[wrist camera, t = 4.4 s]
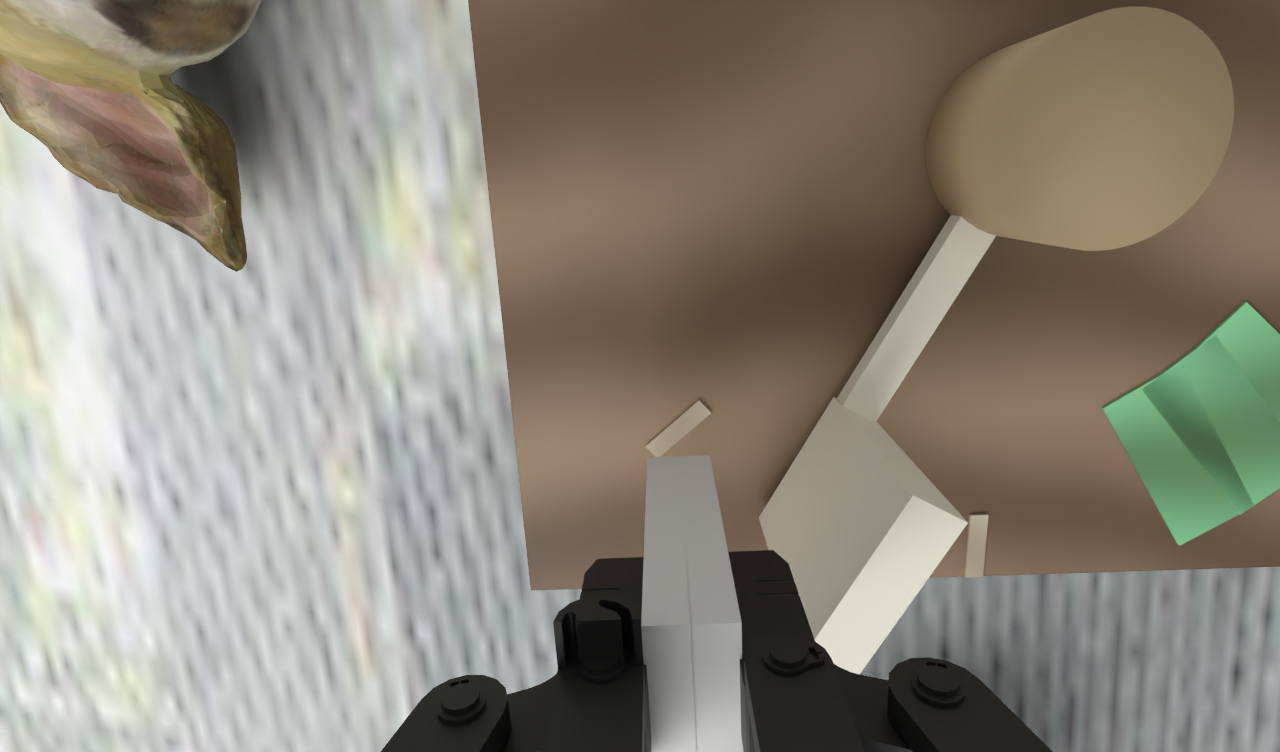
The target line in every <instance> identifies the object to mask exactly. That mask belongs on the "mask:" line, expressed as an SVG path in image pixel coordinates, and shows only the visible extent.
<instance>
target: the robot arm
mask: <svg viewBox="0 0 1280 752" xmlns="http://www.w3.org/2000/svg"><path fill="white" fill-rule="evenodd" d="M553 624H554V633H555V643H556V652H557V662H558V672H557V674H556V675H555V676H554V677H552V678H551V679H549V680H547V681H546V682H544V683H542V684H540V685H537V686H535V687H532V688H529V689H526V690H522V691H519V692H515V693H511V694H508V695H507V693H506V689H505V687H504V686H503V685H502V684H501V683H500V682H499V681H498V680H497V679H494V678H491V677H487V676H484V675H465V676H461V677H458V678H454V679H450V680H448V681H446V682H444V683H442V684H440V685H438V686H437V687H435V688H433V689H432V690H431V691H430V692H429V693H428V694H427V695H426V696H425V697H424V698H423V699H421V701H420V702H419V703H418V705H417V706H416V707H415V708H414V710H413V711H412V712H411V714H410V715H409V716H408V717H407V719H406V720H405V721H404V723H403V724H402V725H401V726H400V728H399V729H398V730H397V732H396V733H395V734H394V735H393V737H392V738H391V739H390V741H389V742H388V743H387V744H386V746H385V747H384V748H383V750H382V751H381V752H1052V751H1051V750H1050V749H1049V748H1048V747H1047V746H1046V745H1045V744H1044V743H1043V742H1042V741H1041V740H1040V739H1039V738H1038V737H1037V736H1036V735H1035V734H1034V733H1033V732H1032V731H1031V730H1030V729H1029V728H1028V727H1027V726H1026V725H1025V724H1024V723H1023V722H1022V721H1021V720H1020V719H1019V718H1018V717H1017V716H1016V715H1015V714H1014V713H1013V712H1012V711H1011V710H1010V709H1009V708H1008V707H1007V706H1006V705H1005V704H1004V703H1003V702H1002V701H1001V700H1000V699H999V698H998V697H997V696H996V695H995V694H994V693H993V692H992V691H991V690H990V689H989V688H988V687H986V686H985V685H984V684H983V683H982V682H981V681H980V680H979V679H978V678H977V677H975V676H974V675H973V674H971V673H970V672H969V671H967V670H966V669H965V668H962V667H960V666H957V665H955V664H953V663H950V662H948V661H944V660H939V659H933V658H912V659H908V660H906V661H903V662H901V663H898V664H897V665H896V666H895V667H894V668H893V669H892V671H891V672H890V673H889V681H888V680H883V679H878V678H873V677H867V676H863V675H859V674H856V673H852V672H849V671H847V670H845V669H843V668H840V667H838V666H837V665H835V664H834V663H833V661H832V658H831V657H830V655H829V654H828V652H827V651H826V649H825V648H824V647H822V646H821V645H819V644H818V643H816V642H815V639H814V637H813V634H812V631H811V628H810V625H809V622H808V619H807V616H806V613H805V610H804V607H803V604H802V601H801V599H800V596H799V594H798V590H797V587H796V584H795V582H794V578H793V575H792V572H791V569H790V566H789V563H787V562H786V561H785V560H784V559H783V558H782V557H781V556H780V555H778V554H777V553H776V552H775V551H774V550H761V551H735V552H728V548H727V543H726V538H725V533H724V527H723V522H722V517H721V512H720V506H719V501H718V496H717V491H716V485H715V480H714V475H713V470H712V464H711V459H710V455H700V456H678V457H655V458H647V478H646V506H645V534H644V557H629V558H603V559H597V560H596V561H595V562H594V563H593V564H592V565H591V567H590V568H589V569H588V570H587V571H586V572H585V574H584V580H583V585H582V592H581V596H580V600H577V601H575V602H572V603H570V604H568V605H567V606H566V607H565V608H563V609H562V610H561V611H559V613H558V614H557V616H556V618H555V620H554V622H553Z"/></svg>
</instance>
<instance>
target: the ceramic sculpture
mask: <svg viewBox="0 0 1280 752" xmlns="http://www.w3.org/2000/svg"><path fill="white" fill-rule="evenodd" d="M261 1H262V0H0V102H1V104H2V106H3V108H4V109H5V111H6V113H7V115H8V116H9V118H10V119H11V120H12V121H13V122H14V123H15V124H17V125H18V126H20V127H21V128H22V129H24V130H26V131H27V132H29V133H30V134H32V135H34V136H35V137H36V138H37V139H38V140H40V141H41V142H42V143H43V144H44V145H46V146H47V147H48V149H49V150H50V152H51V153H52V155H53V156H54V158H55V159H56V160H57V161H58V162H59V163H60V164H61V165H62V166H63V167H64V168H66V169H67V170H69V171H70V172H72V173H73V174H75V175H76V176H78V177H80V178H82V179H84V180H86V181H87V182H89V183H90V184H92V185H93V186H94V187H96V188H98V189H102V190H105V191H109V192H113V193H116V194H118V195H119V197H120V198H121V200H122V201H123V202H125V203H127V204H129V205H131V206H133V207H135V208H136V209H138V210H140V211H142V212H144V213H145V214H147V215H149V216H151V217H153V218H154V219H157V220H159V221H161V222H164V223H166V224H168V225H170V226H171V227H173V228H175V229H177V230H179V231H180V232H182V233H184V234H186V235H188V236H190V237H192V238H193V239H195V240H197V241H198V242H199V243H200V244H201V246H202V247H203V248H204V249H205V250H206V251H207V252H209V253H210V254H211V255H213V256H214V257H215V258H216V259H218V260H219V261H220V262H221V263H223V264H224V265H225V266H226V267H228V268H230V269H232V270H234V271H239V270H241V269H243V267H244V266H245V264H246V260H247V252H246V243H245V236H244V230H243V224H242V218H241V192H240V183H239V175H238V166H237V157H236V148H235V143H234V141H233V139H232V136H231V134H230V132H229V130H228V128H227V126H226V124H225V123H224V122H223V121H222V120H221V119H220V118H219V117H218V116H217V115H216V114H215V113H214V112H213V111H212V110H211V109H210V108H209V107H208V106H206V105H205V104H204V103H202V102H201V101H200V100H198V99H197V98H195V97H194V96H193V95H191V94H189V93H188V92H186V91H185V90H183V89H182V88H180V87H179V86H177V85H175V84H174V83H173V82H172V80H171V79H170V77H169V76H170V75H172V74H173V73H174V72H175V71H176V70H178V69H179V68H180V67H182V66H188V65H194V64H198V63H202V62H206V61H210V60H211V59H213V58H214V57H216V56H218V55H219V54H221V53H222V52H223V51H224V50H226V49H227V48H228V47H229V46H230V45H232V44H233V43H234V42H235V41H237V40H238V39H239V38H240V37H241V36H243V35H244V34H245V33H246V32H247V31H248V29H249V27H250V25H251V23H252V21H253V19H254V17H255V14H256V12H257V10H258V8H259V6H260V3H261Z"/></svg>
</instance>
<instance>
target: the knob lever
mask: <svg viewBox="0 0 1280 752" xmlns="http://www.w3.org/2000/svg"><path fill="white" fill-rule="evenodd" d="M1233 118H1234V94H1233V88H1232V82H1231V78H1230V75H1229V72H1228V68H1227V65H1226V63H1225V61H1224V59H1223V57H1222V55H1221V53H1220V51H1219V50H1218V49H1217V47H1216V46H1215V44H1214V43H1213V42H1212V40H1211V39H1210V38H1209V37H1208V36H1207V35H1206V34H1205V33H1204V32H1203V31H1202V30H1201V29H1200V28H1198V27H1197V26H1196V25H1194V24H1193V23H1192V22H1190V21H1189V20H1187V19H1185V18H1183V17H1181V16H1179V15H1177V14H1175V13H1171V12H1168V11H1165V10H1162V9H1157V8H1151V7H1122V8H1114V9H1110V10H1106V11H1103V12H1099V13H1096V14H1093V15H1090V16H1088V17H1085V18H1082V19H1080V20H1077V21H1074V22H1072V23H1069V24H1067V25H1064V26H1061V27H1059V28H1056V29H1053V30H1051V31H1048V32H1045V33H1043V34H1040V35H1037V36H1035V37H1032V38H1029V39H1027V40H1024V41H1021V42H1019V43H1016V44H1013V45H1011V46H1008V47H1006V48H1003V49H1000V50H998V51H996V52H993V53H991V54H989V55H987V56H985V57H984V58H982V59H980V60H978V61H977V62H976V63H974V64H973V65H972V66H970V67H969V68H968V69H966V70H965V71H964V72H963V73H962V74H961V75H960V76H959V77H958V78H957V79H956V80H955V81H954V83H953V84H952V85H951V86H950V87H949V89H948V90H947V92H946V93H945V95H944V96H943V98H942V99H941V101H940V103H939V105H938V107H937V109H936V111H935V113H934V116H933V119H932V121H931V124H930V129H929V133H928V138H927V146H926V163H927V170H928V175H929V179H930V182H931V185H932V188H933V190H934V192H935V194H936V196H937V198H938V199H939V201H940V203H941V204H942V206H943V207H944V208H945V209H946V210H947V212H948V213H949V214H950V215H951V216H950V217H949V219H948V221H947V222H946V224H945V225H944V227H943V229H942V230H941V232H940V233H939V235H938V237H937V238H936V240H935V241H934V243H933V245H932V246H931V248H930V249H929V251H928V253H927V254H926V256H925V258H924V259H923V261H922V262H921V264H920V266H919V267H918V269H917V270H916V272H915V274H914V275H913V277H912V278H911V280H910V282H909V283H908V285H907V286H906V288H905V290H904V291H903V293H902V295H901V296H900V298H899V299H898V301H897V303H896V304H895V306H894V307H893V309H892V311H891V312H890V314H889V315H888V317H887V319H886V320H885V322H884V323H883V325H882V327H881V328H880V330H879V332H878V333H877V335H876V336H875V338H874V340H873V341H872V343H871V344H870V346H869V348H868V349H867V351H866V352H865V354H864V356H863V357H862V359H861V360H860V362H859V364H858V365H857V367H856V368H855V370H854V372H853V373H852V375H851V377H850V378H849V380H848V381H847V383H846V385H845V386H844V388H843V389H842V391H841V393H840V394H839V396H838V397H837V398H835V397H833V399H832V400H831V402H830V403H829V405H828V407H827V408H826V410H825V412H824V413H823V415H822V416H821V418H820V420H819V421H818V423H817V424H816V426H815V428H814V429H813V431H812V432H811V434H810V436H809V437H808V439H807V441H806V442H805V444H804V445H803V447H802V449H801V450H800V452H799V453H798V455H797V457H796V458H795V460H794V462H793V463H792V465H791V466H790V468H789V470H788V471H787V473H786V474H785V476H784V478H783V479H782V481H781V482H780V484H779V486H778V487H777V489H776V491H775V492H774V494H773V495H772V497H771V499H770V500H769V502H768V503H767V505H766V507H765V508H764V510H763V512H762V513H761V515H760V516H759V520H760V523H761V527H762V530H763V533H764V537H765V540H766V543H767V547H768V550H774V551H775V552H776V553H777V554H778V555H780V556H781V557H782V558H783V559H784V560H785V561H786V562H787V563H789V566H790V569H791V572H792V575H793V578H794V582H795V584H796V587H797V590H798V594H799V596H800V599H801V601H802V604H803V607H804V610H805V613H806V616H807V619H808V622H809V625H810V628H811V631H812V634H813V637H814V639H815V642H816V643H818V644H819V645H821V646H822V647H824V648H825V649H826V651H827V652H828V654H829V655H830V657H831V658H832V661H833V663H834V664H835V665H837V666H838V667H840V668H843V669H845V670H847V671H849V672H852V673H856V674H859V675H860V673H861V672H862V670H863V669H864V668H865V666H866V665H867V663H868V662H869V661H870V659H871V658H872V656H873V655H874V654H875V652H876V651H877V649H878V648H879V647H880V645H881V644H882V642H883V641H884V640H885V638H886V637H887V635H888V634H889V633H890V631H891V630H892V628H893V627H894V626H895V624H896V623H897V621H898V620H899V619H900V617H901V616H902V614H903V613H904V612H905V610H906V609H907V608H908V606H909V605H910V603H911V602H912V601H913V599H914V598H915V596H916V595H917V594H918V592H919V591H920V589H921V588H922V587H923V585H924V584H925V582H926V581H927V580H928V578H929V577H930V575H931V574H932V573H933V571H934V570H935V568H936V567H937V566H938V564H939V563H940V561H941V560H942V559H943V557H944V556H945V554H946V553H947V552H948V550H949V549H950V547H951V546H952V545H953V543H954V542H955V540H956V539H957V538H958V536H959V535H960V533H961V532H962V531H963V529H964V528H965V527H966V525H967V524H968V522H967V521H966V520H965V519H964V518H963V517H962V516H961V514H960V513H959V512H958V511H957V510H956V509H955V508H954V507H953V506H952V504H951V503H950V502H949V501H948V500H947V499H946V498H945V497H944V496H943V494H942V493H941V492H940V491H939V490H938V489H937V488H936V487H935V486H934V485H933V483H932V482H931V481H930V480H929V479H928V478H927V477H926V476H925V475H924V473H923V472H922V471H921V470H920V469H919V468H918V467H917V466H916V465H915V464H914V462H913V461H912V460H911V459H910V458H909V457H908V456H907V455H906V454H905V452H904V451H903V450H902V449H901V448H900V447H899V446H898V445H897V444H896V443H895V441H894V440H893V439H892V438H891V437H890V436H889V435H888V434H887V433H886V431H885V430H884V429H883V428H882V427H881V426H880V425H879V424H878V423H877V420H878V418H879V417H880V415H881V414H882V412H883V410H884V409H885V407H886V406H887V404H888V403H889V401H890V400H891V398H892V396H893V395H894V393H895V392H896V390H897V389H898V387H899V386H900V384H901V383H902V381H903V379H904V378H905V376H906V375H907V373H908V372H909V370H910V369H911V367H912V365H913V364H914V362H915V361H916V359H917V358H918V356H919V355H920V353H921V352H922V350H923V348H924V347H925V345H926V344H927V342H928V341H929V339H930V338H931V336H932V334H933V333H934V331H935V330H936V328H937V327H938V325H939V324H940V322H941V321H942V319H943V317H944V316H945V314H946V313H947V311H948V310H949V308H950V307H951V305H952V303H953V302H954V300H955V299H956V297H957V296H958V294H959V293H960V291H961V290H962V288H963V286H964V285H965V283H966V282H967V280H968V279H969V277H970V276H971V274H972V272H973V271H974V269H975V268H976V266H977V265H978V263H979V262H980V260H981V258H982V257H983V255H984V254H985V252H986V251H987V249H988V248H989V246H990V245H991V243H992V241H993V240H994V238H995V237H996V236H999V237H1005V238H1011V239H1017V240H1023V241H1028V242H1034V243H1040V244H1046V245H1052V246H1058V247H1064V248H1070V249H1077V250H1083V251H1102V250H1111V249H1117V248H1121V247H1125V246H1129V245H1132V244H1135V243H1137V242H1140V241H1143V240H1145V239H1147V238H1149V237H1151V236H1153V235H1155V234H1157V233H1159V232H1160V231H1162V230H1163V229H1165V228H1166V227H1168V226H1169V225H1171V224H1172V223H1174V222H1175V221H1176V220H1177V219H1178V218H1180V217H1181V216H1182V215H1183V214H1185V213H1186V212H1187V211H1188V210H1189V209H1190V208H1191V206H1192V205H1193V204H1194V203H1195V202H1196V201H1197V200H1198V199H1199V198H1200V196H1201V195H1202V194H1203V193H1204V191H1205V190H1206V189H1207V187H1208V186H1209V184H1210V183H1211V181H1212V180H1213V178H1214V176H1215V175H1216V173H1217V171H1218V169H1219V167H1220V165H1221V163H1222V161H1223V158H1224V156H1225V153H1226V150H1227V147H1228V144H1229V141H1230V136H1231V132H1232V127H1233Z"/></svg>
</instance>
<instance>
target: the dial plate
mask: <svg viewBox="0 0 1280 752" xmlns="http://www.w3.org/2000/svg"><path fill="white" fill-rule="evenodd" d="M468 3H469V12H470V22H471V31H472V40H473V50H474V59H475V68H476V78H477V87H478V97H479V106H480V115H481V125H482V134H483V144H484V153H485V162H486V172H487V181H488V191H489V200H490V209H491V219H492V228H493V237H494V247H495V256H496V266H497V275H498V284H499V294H500V303H501V313H502V322H503V331H504V341H505V350H506V360H507V369H508V378H509V388H510V397H511V406H512V416H513V425H514V435H515V444H516V453H517V463H518V472H519V482H520V491H521V500H522V510H523V519H524V529H525V538H526V547H527V557H528V566H529V575H530V585H531V590H556V589H582V585H583V580H584V574H585V572H586V571H587V570H588V569H589V568H590V567H591V565H592V564H593V563H594V562H595V561H596V560H597V559H603V558H629V557H644V534H645V506H646V478H647V458H655V457H678V456H700V455H710V459H711V464H712V470H713V475H714V480H715V485H716V491H717V496H718V501H719V506H720V512H721V517H722V522H723V527H724V533H725V538H726V543H727V548H728V552H735V551H761V550H768V547H767V543H766V540H765V537H764V533H763V530H762V527H761V523H760V520H759V516H760V515H761V513H762V512H763V510H764V508H765V507H766V505H767V503H768V502H769V500H770V499H771V497H772V495H773V494H774V492H775V491H776V489H777V487H778V486H779V484H780V482H781V481H782V479H783V478H784V476H785V474H786V473H787V471H788V470H789V468H790V466H791V465H792V463H793V462H794V460H795V458H796V457H797V455H798V453H799V452H800V450H801V449H802V447H803V445H804V444H805V442H806V441H807V439H808V437H809V436H810V434H811V432H812V431H813V429H814V428H815V426H816V424H817V423H818V421H819V420H820V418H821V416H822V415H823V413H824V412H825V410H826V408H827V407H828V405H829V403H830V402H831V400H832V399H833V397H835V398H837V397H838V396H839V394H840V393H841V391H842V389H843V388H844V386H845V385H846V383H847V381H848V380H849V378H850V377H851V375H852V373H853V372H854V370H855V368H856V367H857V365H858V364H859V362H860V360H861V359H862V357H863V356H864V354H865V352H866V351H867V349H868V348H869V346H870V344H871V343H872V341H873V340H874V338H875V336H876V335H877V333H878V332H879V330H880V328H881V327H882V325H883V323H884V322H885V320H886V319H887V317H888V315H889V314H890V312H891V311H892V309H893V307H894V306H895V304H896V303H897V301H898V299H899V298H900V296H901V295H902V293H903V291H904V290H905V288H906V286H907V285H908V283H909V282H910V280H911V278H912V277H913V275H914V274H915V272H916V270H917V269H918V267H919V266H920V264H921V262H922V261H923V259H924V258H925V256H926V254H927V253H928V251H929V249H930V248H931V246H932V245H933V243H934V241H935V240H936V238H937V237H938V235H939V233H940V232H941V230H942V229H943V227H944V225H945V224H946V222H947V221H948V219H949V217H950V216H951V215H950V214H949V213H948V212H947V210H946V209H945V208H944V207H943V206H942V204H941V203H940V201H939V199H938V198H937V196H936V194H935V192H934V190H933V188H932V185H931V182H930V179H929V175H928V170H927V163H926V146H927V138H928V133H929V129H930V124H931V121H932V119H933V116H934V113H935V111H936V109H937V107H938V105H939V103H940V101H941V99H942V98H943V96H944V95H945V93H946V92H947V90H948V89H949V87H950V86H951V85H952V84H953V83H954V81H955V80H956V79H957V78H958V77H959V76H960V75H961V74H962V73H963V72H964V71H965V70H966V69H968V68H969V67H970V66H972V65H973V64H974V63H976V62H977V61H978V60H980V59H982V58H984V57H985V56H987V55H989V54H991V53H993V52H996V51H998V50H1000V49H1003V48H1006V47H1008V46H1011V45H1013V44H1016V43H1019V42H1021V41H1024V40H1027V39H1029V38H1032V37H1035V36H1037V35H1040V34H1043V33H1045V32H1048V31H1051V30H1053V29H1056V28H1059V27H1061V26H1064V25H1067V24H1069V23H1072V22H1074V21H1077V20H1080V19H1082V18H1085V17H1088V16H1090V15H1093V14H1096V13H1099V12H1103V11H1106V10H1110V9H1114V8H1122V7H1151V8H1157V9H1162V10H1165V11H1168V12H1171V13H1175V14H1177V15H1179V16H1181V17H1183V18H1185V19H1187V20H1189V21H1190V22H1192V23H1193V24H1194V25H1196V26H1197V27H1198V28H1200V29H1201V30H1202V31H1203V32H1204V33H1205V34H1206V35H1207V36H1208V37H1209V38H1210V39H1211V40H1212V42H1213V43H1214V44H1215V46H1216V47H1217V49H1218V50H1219V51H1220V53H1221V55H1222V57H1223V59H1224V61H1225V63H1226V65H1227V68H1228V72H1229V75H1230V78H1231V82H1232V88H1233V94H1234V118H1233V127H1232V132H1231V136H1230V141H1229V144H1228V147H1227V150H1226V153H1225V156H1224V158H1223V161H1222V163H1221V165H1220V167H1219V169H1218V171H1217V173H1216V175H1215V176H1214V178H1213V180H1212V181H1211V183H1210V184H1209V186H1208V187H1207V189H1206V190H1205V191H1204V193H1203V194H1202V195H1201V196H1200V198H1199V199H1198V200H1197V201H1196V202H1195V203H1194V204H1193V205H1192V206H1191V208H1190V209H1189V210H1188V211H1187V212H1186V213H1185V214H1183V215H1182V216H1181V217H1180V218H1178V219H1177V220H1176V221H1175V222H1174V223H1172V224H1171V225H1169V226H1168V227H1166V228H1165V229H1163V230H1162V231H1160V232H1159V233H1157V234H1155V235H1153V236H1151V237H1149V238H1147V239H1145V240H1143V241H1140V242H1137V243H1135V244H1132V245H1129V246H1125V247H1121V248H1117V249H1111V250H1102V251H1083V250H1077V249H1070V248H1064V247H1058V246H1052V245H1046V244H1040V243H1034V242H1028V241H1023V240H1017V239H1011V238H1005V237H999V236H996V237H995V238H994V240H993V241H992V243H991V245H990V246H989V248H988V249H987V251H986V252H985V254H984V255H983V257H982V258H981V260H980V262H979V263H978V265H977V266H976V268H975V269H974V271H973V272H972V274H971V276H970V277H969V279H968V280H967V282H966V283H965V285H964V286H963V288H962V290H961V291H960V293H959V294H958V296H957V297H956V299H955V300H954V302H953V303H952V305H951V307H950V308H949V310H948V311H947V313H946V314H945V316H944V317H943V319H942V321H941V322H940V324H939V325H938V327H937V328H936V330H935V331H934V333H933V334H932V336H931V338H930V339H929V341H928V342H927V344H926V345H925V347H924V348H923V350H922V352H921V353H920V355H919V356H918V358H917V359H916V361H915V362H914V364H913V365H912V367H911V369H910V370H909V372H908V373H907V375H906V376H905V378H904V379H903V381H902V383H901V384H900V386H899V387H898V389H897V390H896V392H895V393H894V395H893V396H892V398H891V400H890V401H889V403H888V404H887V406H886V407H885V409H884V410H883V412H882V414H881V415H880V417H879V418H878V420H877V423H878V424H879V425H880V426H881V427H882V428H883V429H884V430H885V431H886V433H887V434H888V435H889V436H890V437H891V438H892V439H893V440H894V441H895V443H896V444H897V445H898V446H899V447H900V448H901V449H902V450H903V451H904V452H905V454H906V455H907V456H908V457H909V458H910V459H911V460H912V461H913V462H914V464H915V465H916V466H917V467H918V468H919V469H920V470H921V471H922V472H923V473H924V475H925V476H926V477H927V478H928V479H929V480H930V481H931V482H932V483H933V485H934V486H935V487H936V488H937V489H938V490H939V491H940V492H941V493H942V494H943V496H944V497H945V498H946V499H947V500H948V501H949V502H950V503H951V504H952V506H953V507H954V508H955V509H956V510H957V511H958V512H959V513H960V514H961V516H962V517H963V518H964V519H965V520H966V521H967V522H968V524H967V525H966V527H965V528H964V529H963V531H962V532H961V533H960V535H959V536H958V538H957V539H956V540H955V542H954V543H953V545H952V546H951V547H950V549H949V550H948V552H947V553H946V554H945V556H944V557H943V559H942V560H941V561H940V563H939V564H938V566H937V567H936V568H935V570H934V571H933V573H932V574H931V575H930V577H929V578H931V577H962V576H964V577H965V578H980V577H983V576H994V575H1025V574H1056V573H1088V572H1119V571H1150V570H1181V569H1213V568H1244V567H1275V566H1280V0H468Z"/></svg>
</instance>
